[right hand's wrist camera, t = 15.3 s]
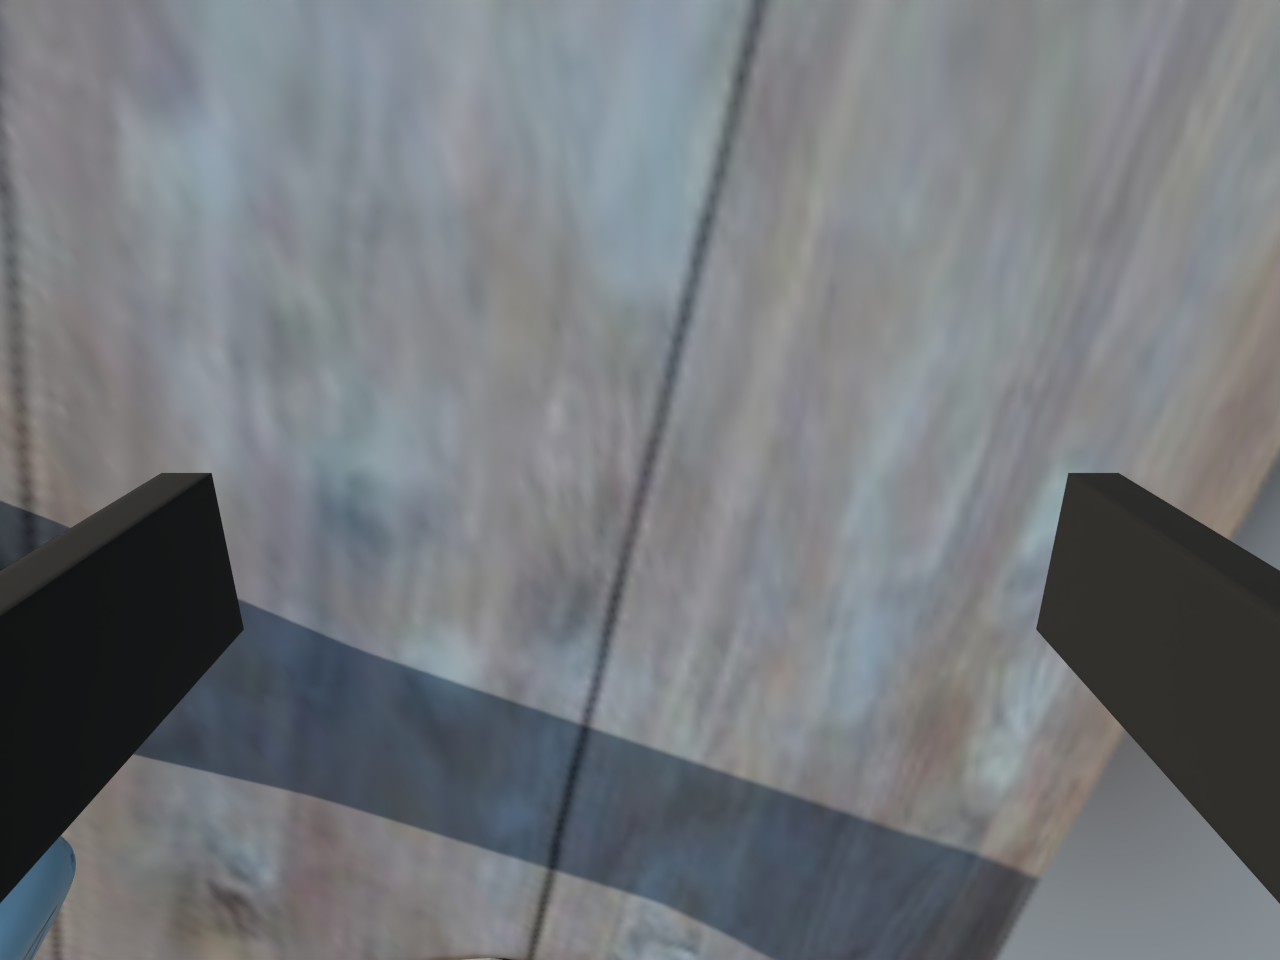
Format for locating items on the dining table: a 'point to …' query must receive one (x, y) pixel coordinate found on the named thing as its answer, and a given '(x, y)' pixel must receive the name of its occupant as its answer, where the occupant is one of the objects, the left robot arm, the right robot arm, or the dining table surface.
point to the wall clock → (483, 959)
